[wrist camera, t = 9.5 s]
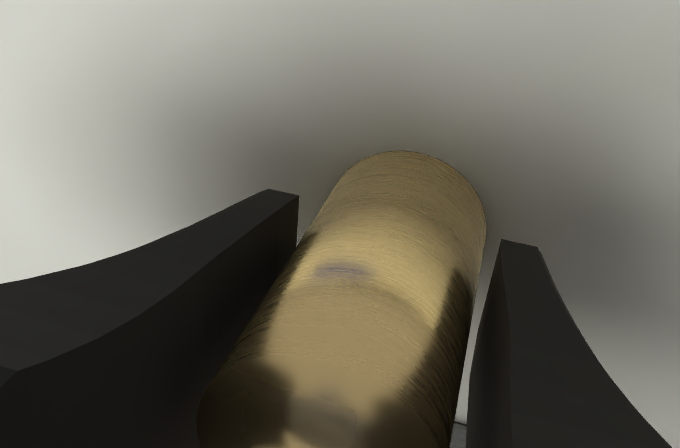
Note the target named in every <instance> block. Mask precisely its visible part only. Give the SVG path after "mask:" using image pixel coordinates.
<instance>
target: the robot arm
mask: <svg viewBox="0 0 680 448" xmlns="http://www.w3.org/2000/svg"><path fill="white" fill-rule="evenodd" d="M298 206H299V195H294V194H289V193H285V192H280V191H276V190H271V189H267V190H264V191H262V192H259V193H257V194H255V195H253V196H251V197H249V198H247V199H244V200H242V201H240V202H238V203H236V204H234V205H232V206H230V207H228V208H226V209H224V210H222V211H220V212H218V213H216V214H214V215H212V216H210V217H207V218H205V219H203V220H201V221H199V222H197V223H195V224H193V225H191V226H189V227H186V228H184V229H181V230H179V231H177V232H174V233H172V234H170V235H167V236H165V237H162V238H160V239H158V240H155V241H153V242H151V243H148V244H146V245H143V246H141V247H138V248H135V249H133V250H130V251H127V252H124V253H121V254H118V255H115V256H112V257H109V258H106V259H102V260H99V261H96V262H93V263H90V264H86V265H83V266H79V267H75V268H70V269H66V270H62V271H58V272H54V273H50V274H46V275H41V276H37V277H33V278H29V279H24V280H19V281H14V282H8V283H3V284H0V448H201V446H200V443H199V439H198V436H197V428H196V416H197V410H198V406H199V402H200V400H201V398H202V396H203V394H204V392H205V391H206V389H207V387H208V386H209V384H210V383H211V381H212V380H213V378H214V376H215V375H216V373H217V372H218V370H219V368H220V367H221V365H222V364H223V362H224V361H225V359H226V357H227V356H228V354H229V353H230V351H231V350H232V348H233V346H234V345H235V343H236V342H237V340H238V339H239V337H240V335H241V334H242V332H243V331H244V329H245V327H246V326H247V324H248V323H249V321H250V320H251V318H252V316H253V315H254V313H255V312H256V310H257V309H258V307H259V305H260V304H261V302H262V301H263V299H264V298H265V296H266V294H267V293H268V291H269V290H270V288H271V286H272V285H273V283H274V282H275V280H276V279H277V277H278V275H279V274H280V272H281V271H282V269H283V268H284V266H285V264H286V263H287V261H288V260H289V258H290V256H291V255H292V253H293V252H294V250H295V249H296V240H297V223H298ZM466 448H672V447H671V446H670V445H669V444H668V443H667V442H666V441H665V440H664V439H663V438H662V437H661V436H660V435H659V434H658V433H657V431H656V430H655V429H654V428H653V427H652V426H651V425H650V424H649V423H648V422H647V421H646V420H645V419H644V418H643V416H642V415H641V414H640V413H639V412H638V411H637V410H636V409H635V407H634V406H633V405H632V404H631V403H630V401H629V400H628V399H627V398H626V396H625V395H624V394H623V393H622V391H621V390H620V389H619V388H618V386H617V385H616V384H615V383H614V381H613V380H612V379H611V378H610V376H609V375H608V374H607V372H606V371H605V370H604V368H603V367H602V365H601V364H600V362H599V361H598V359H597V358H596V356H595V355H594V353H593V352H592V350H591V349H590V347H589V346H588V344H587V343H586V341H585V339H584V338H583V336H582V334H581V333H580V331H579V329H578V328H577V326H576V324H575V322H574V320H573V319H572V317H571V315H570V313H569V311H568V310H567V308H566V306H565V304H564V302H563V300H562V298H561V296H560V294H559V292H558V290H557V288H556V286H555V284H554V282H553V280H552V277H551V275H550V273H549V271H548V268H547V266H546V264H545V261H544V259H543V256H542V254H541V252H540V251H539V249H538V248H537V247H535V246H530V245H526V244H521V243H516V242H512V241H507V240H502V239H501V243H500V247H499V251H498V254H497V258H496V262H495V266H494V270H493V274H492V278H491V282H490V286H489V290H488V293H487V297H486V301H485V305H484V309H483V313H482V317H481V321H480V325H479V328H478V334H477V339H476V345H475V350H474V355H473V361H472V367H471V372H470V380H469V396H468V413H467V430H466Z"/></svg>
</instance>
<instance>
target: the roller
mask: <svg viewBox="0 0 680 448" xmlns="http://www.w3.org/2000/svg"><path fill="white" fill-rule="evenodd" d="M485 238H486V218H485V213H484V209H483V206H482V203H481V201H480V199H479V197H478V195H477V194H476V192H475V190H474V189H473V187H472V186H471V185H470V184H469V183H468V181H467V180H466V179H465V178H464V177H463V176H462V175H461V174H460V173H458V172H457V171H456V170H455V169H453V168H452V167H450V166H449V165H447V164H446V163H444V162H442V161H440V160H438V159H436V158H433V157H430V156H428V155H424V154H420V153H416V152H409V151H391V152H383V153H379V154H375V155H372V156H370V157H367V158H365V159H363V160H361V161H359V162H358V163H356V164H355V165H353V166H352V167H351V168H349V169H348V170H347V171H346V172H345V173H344V174H343V175H342V177H341V178H340V180H339V181H338V182H337V184H336V186H335V187H334V189H333V190H332V192H331V193H330V195H329V197H328V198H327V200H326V201H325V203H324V204H323V206H322V208H321V209H320V211H319V212H318V214H317V215H316V217H315V219H314V220H313V222H312V223H311V225H310V227H309V228H308V230H307V231H306V233H305V234H304V236H303V238H302V239H301V241H300V242H299V244H298V245H297V247H296V249H295V250H294V252H293V253H292V255H291V256H290V258H289V260H288V261H287V263H286V264H285V266H284V268H283V269H282V271H281V272H280V274H279V275H278V277H277V279H276V280H275V282H274V283H273V285H272V286H271V288H270V290H269V291H268V293H267V294H266V296H265V298H264V299H263V301H262V302H261V304H260V305H259V307H258V309H257V310H256V312H255V313H254V315H253V316H252V318H251V320H250V321H249V323H248V324H247V326H246V327H245V329H244V331H243V332H242V334H241V335H240V337H239V339H238V340H237V342H236V343H235V345H234V346H233V348H232V350H231V351H230V353H229V354H228V356H227V357H226V359H225V361H224V362H223V364H222V365H221V367H220V368H219V370H218V372H217V373H216V375H215V376H214V378H213V380H212V381H211V383H210V384H209V386H208V387H207V389H206V391H205V392H204V394H203V396H202V398H201V400H200V402H199V406H198V410H197V416H196V428H197V436H198V439H199V443H200V446H201V448H450V443H451V437H452V431H453V425H454V420H455V414H456V408H457V402H458V396H459V390H460V384H461V379H462V373H463V367H464V361H465V355H466V349H467V344H468V338H469V332H470V326H471V320H472V314H473V308H474V303H475V297H476V291H477V285H478V279H479V273H480V268H481V262H482V256H483V250H484V244H485Z"/></svg>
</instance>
